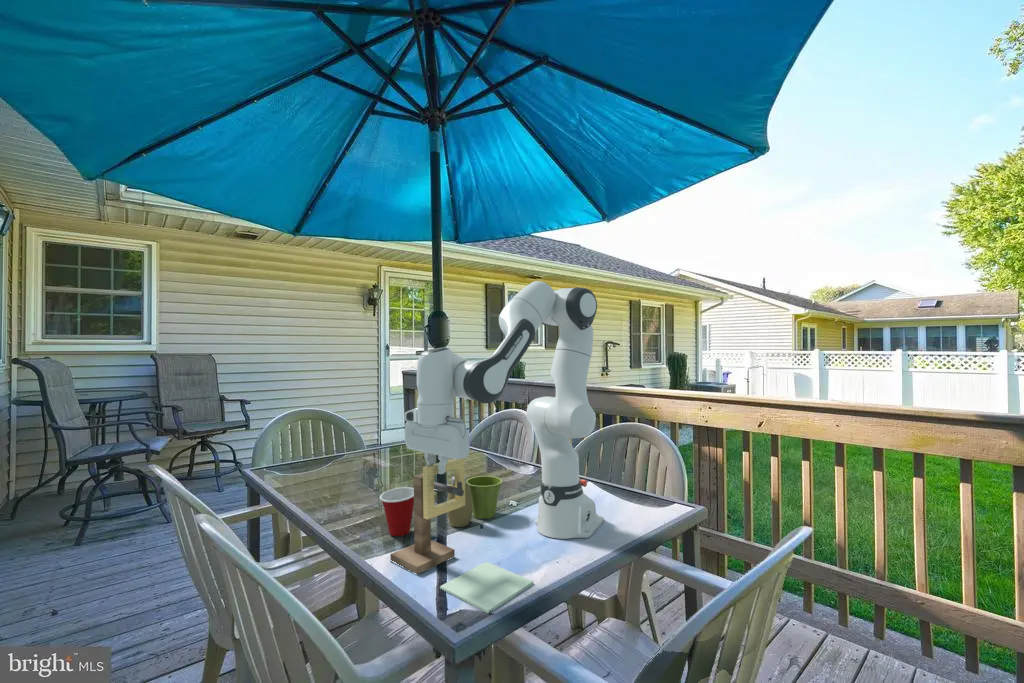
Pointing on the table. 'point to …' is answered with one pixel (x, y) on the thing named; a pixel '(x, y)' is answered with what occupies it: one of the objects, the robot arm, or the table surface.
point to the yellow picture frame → (428, 489)
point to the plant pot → (484, 495)
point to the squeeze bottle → (461, 508)
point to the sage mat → (487, 586)
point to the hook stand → (424, 534)
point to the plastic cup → (398, 509)
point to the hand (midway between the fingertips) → (436, 472)
